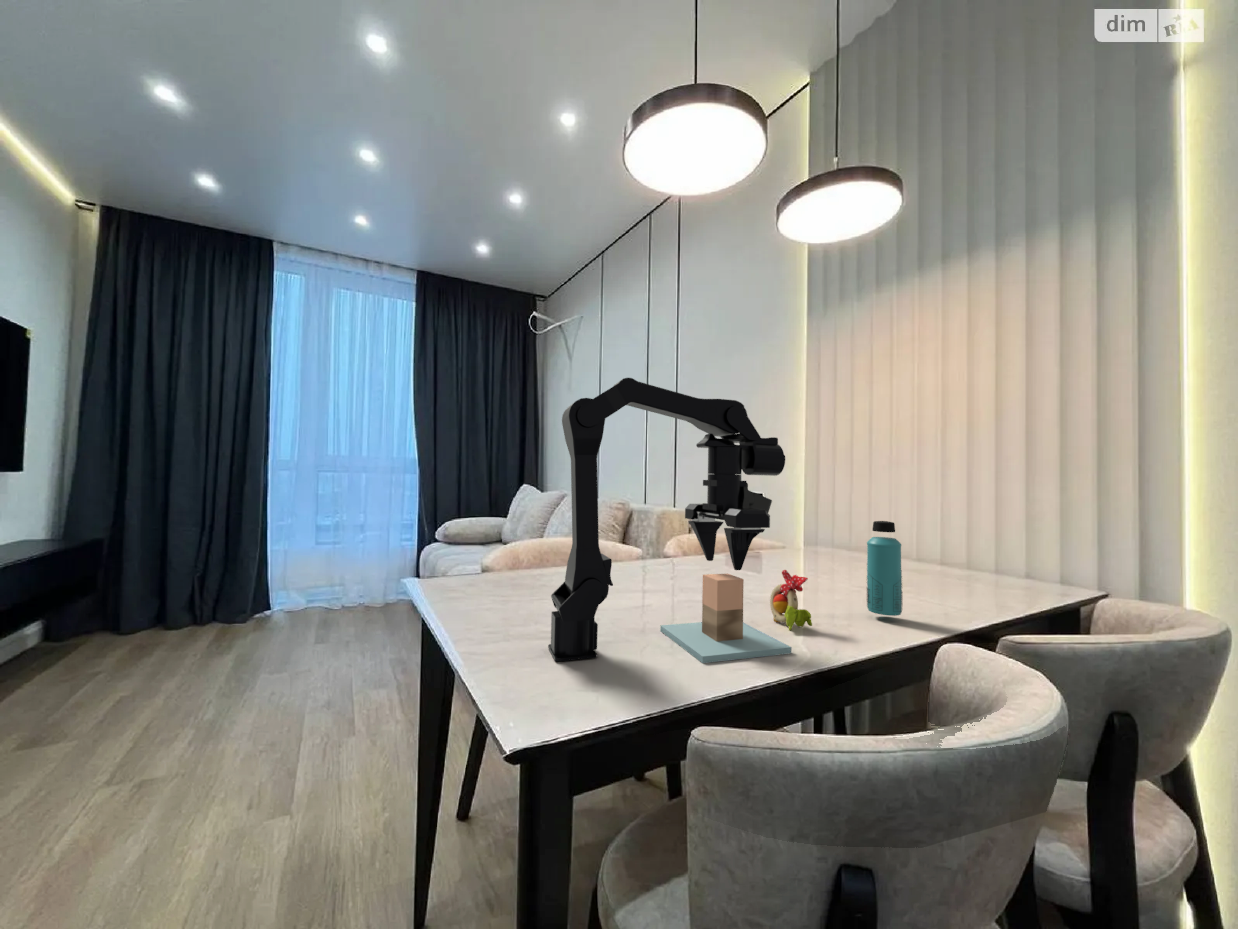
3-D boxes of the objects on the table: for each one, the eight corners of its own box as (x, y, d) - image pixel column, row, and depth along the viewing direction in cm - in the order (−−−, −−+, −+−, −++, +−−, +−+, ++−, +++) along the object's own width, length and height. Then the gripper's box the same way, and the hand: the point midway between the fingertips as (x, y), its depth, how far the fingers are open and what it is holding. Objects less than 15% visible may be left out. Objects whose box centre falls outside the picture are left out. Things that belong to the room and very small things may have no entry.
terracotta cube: (717, 611, 80) (717, 580, 80) (702, 603, 85) (702, 574, 85) (743, 609, 82) (743, 579, 82) (727, 601, 86) (727, 573, 87)
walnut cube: (716, 641, 80) (717, 611, 80) (701, 632, 85) (702, 603, 85) (742, 639, 81) (743, 609, 82) (727, 630, 86) (727, 601, 86)
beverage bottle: (909, 624, 96) (909, 522, 97) (875, 623, 96) (876, 522, 97) (891, 614, 103) (891, 520, 103) (859, 614, 103) (860, 519, 103)
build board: (702, 663, 73) (702, 656, 73) (660, 630, 88) (660, 625, 88) (791, 653, 78) (791, 647, 78) (737, 624, 93) (737, 619, 93)
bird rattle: (764, 635, 94) (796, 628, 86) (750, 577, 98) (780, 566, 91) (789, 632, 96) (823, 625, 89) (775, 576, 101) (805, 565, 93)
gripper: (799, 475, 78) (798, 573, 77) (735, 475, 95) (734, 555, 95) (738, 473, 74) (737, 576, 74) (684, 474, 92) (683, 557, 91)
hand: (723, 565), depth 83 cm, fingers open, 9 cm apart
